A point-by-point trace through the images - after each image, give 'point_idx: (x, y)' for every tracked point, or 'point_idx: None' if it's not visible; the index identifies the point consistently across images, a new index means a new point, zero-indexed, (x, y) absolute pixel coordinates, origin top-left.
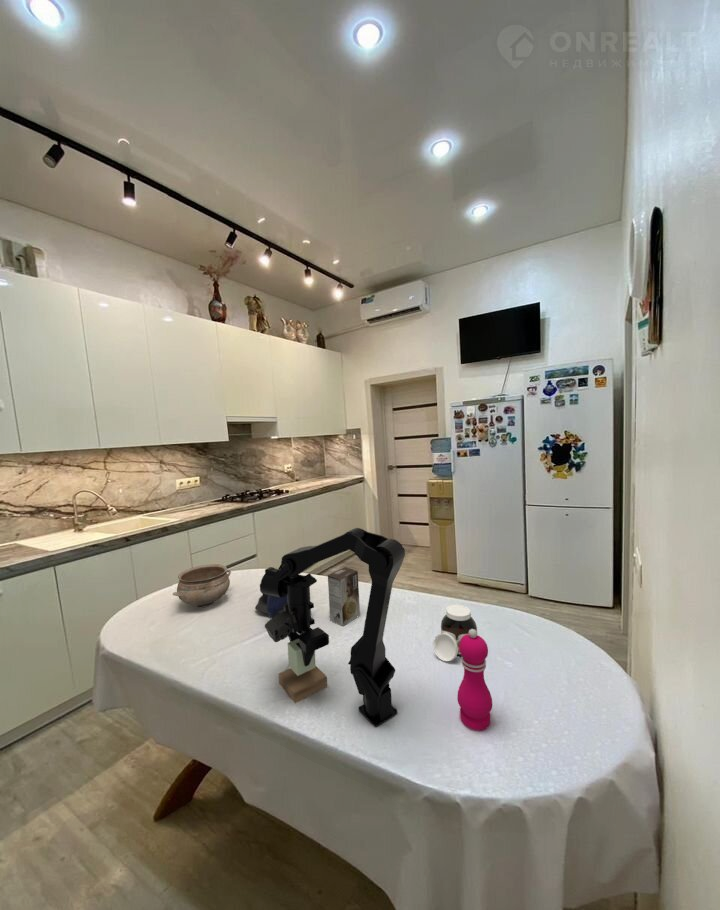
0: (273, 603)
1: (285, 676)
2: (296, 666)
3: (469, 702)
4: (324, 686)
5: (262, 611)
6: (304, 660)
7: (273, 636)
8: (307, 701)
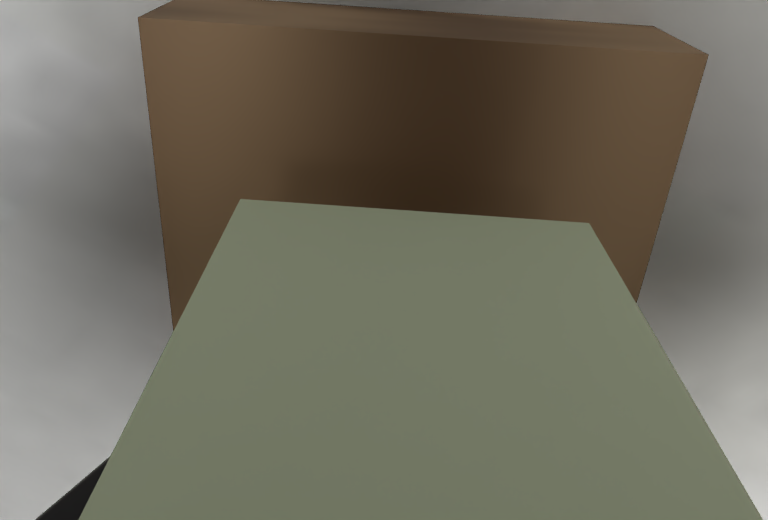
0: None
1: (559, 104)
2: (238, 279)
3: None
4: None
5: None
6: (100, 471)
7: None
8: (129, 124)
